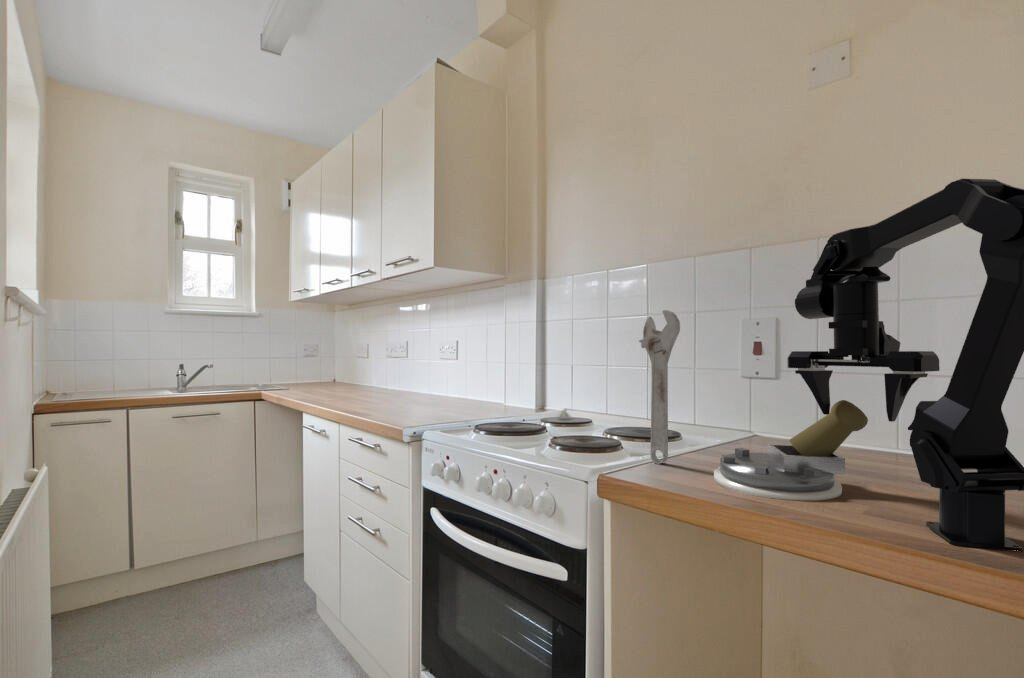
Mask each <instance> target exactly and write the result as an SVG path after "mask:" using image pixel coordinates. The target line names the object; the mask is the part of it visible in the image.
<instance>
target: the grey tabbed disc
mask: <svg viewBox="0 0 1024 678" xmlns="http://www.w3.org/2000/svg"><path fill="white" fill-rule="evenodd" d="M719 467H720V472H721V474H722V475H723V476H725V477H727V478H728V479H731V480H733V481H736V482H739V483H742V484H746V485H750V486H755V487H759V488H765V489H772V490H780V491H792V492H814V491H823V490H827V489H830V488H832V487H833V486H834V480H835V475H845V474H846V457H843V456H841V455H839V454H837V453H836V452H834V453H833V454H832V455H831V456H830V457H820V456H802V455H801V454H800V453H799V452H798V451H797V450H796V449H795V448H794V447H793V446H792V444H775V443H772V444H771V443H770V444H769V443H767V452H750V449H746V448H743V447H735V448H734V453H731V454H729V453H728V454H721V456H720V459H719Z"/></svg>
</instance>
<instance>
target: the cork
mask: <svg viewBox="0 0 1024 678" xmlns="http://www.w3.org/2000/svg"><path fill="white" fill-rule="evenodd" d="M868 422H869V419H868V417H867V415H866V414H865V413H864V412H863V410H862V409H861V408H859V407H858V406H856V405H855V404H854V403H852V402H851V401H848V400H845V399H842V400H839V401H837V402H835V403H834V404H833V405H832V406H831V407H830V413H829V414H827V415H825V416H823V417H822V418H820V419H818V420H817V421H815V422H814V423H812V424H811V425H809V426H808V427H806V428H805V429H802V431H800V432H799V433H798V434H796V435H794V436H793V437H791V438H790V439H789V443H790V445H792V446H793V447H794V448H795V449H796V450H797V451H798V452H799V453H800V454H801V455H802V456H820V457H830V456H831V455H832V454H833V453H836V451H837V450H838V448H840V446H841V445H842V444H843V443H844V442H845V440H847V438H848V437H849V436H850V435H851V434H852V433H853V432H858V431H861V430H863V429H864V428H865V427H866V426H867V425H868Z"/></svg>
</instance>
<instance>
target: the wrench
mask: <svg viewBox="0 0 1024 678" xmlns="http://www.w3.org/2000/svg"><path fill="white" fill-rule="evenodd" d="M662 314H663V316H664V320H665V321H666V324H665V325H664V327H663V329H662V330H658V329H657V328H656V327H657V326H656V324H655V320H654V319H653V317H652V316H648V317H646V319H645V322H644V325H643V329H642V339H640V340H638V342H639V343H640V347H641V348H642V349H645V351H646V352H647V354H648V357H649V361H650V363H651V364H650V365H651V367H650V368H651V386H650V388H651V389H650V390H651V393H650V395H651V396H650V400H651V401H650V402H651V403H650V453H649V455H650V459H651V461H652V462H653V463H655V464H657V465H658V464H659V465H660V464H662V463H665V462H667V461H668V458H669V408H668V407H669V402H668V401H669V390H668V388H669V387H668V386H669V383H668V382H669V381H668V380H669V379H668V376H669V375H668V373H669V372H668V371H669V369H668V368H669V367H668V365H669V362H670V361H669V360H670V357H671V355H672V352H673V351H672V350H673V347H674V345H675V343H676V341H677V338H678V337H679V334H680V331H681V324H680V323H681V322H680V320H679V318H678V316H677V314H675V313H674V312H673V311H671V310H668V309H664V310H662ZM657 451H660V452H661V454H662V460H660V459H659V458H657V455H656V452H657Z"/></svg>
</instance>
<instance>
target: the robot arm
mask: <svg viewBox="0 0 1024 678" xmlns="http://www.w3.org/2000/svg"><path fill="white" fill-rule="evenodd" d="M960 224H963V226H964V227H967V228H968V229H971V230H973V231H975V232H977V233H980V234H981V240H980V245H979V252H978V253H979V256H980V259H981V262H982V265H983V267H984V270H985V273H986V281H985V284H984V288H983V289H982V293H981V295H980V299H979V301H978V304H977V306H976V308H975V312H974V315H973V317H972V320H971V323H970V326H969V328H968V331H967V334H966V337H965V340H964V341H963V342H964V343H963V345H962V346H961V347H962V348H961V351H960V352H959V353H960V354H959V356H958V359H957V362H956V363H955V368H954V370H953V373H952V375H951V377H950V381H949V383H948V386H947V388H946V392H944V395H943V396H941V397H940V398H939V399H938V400H921V401H919V402H918V404H917V406H916V407H915V413H914V417H913V420H912V421H911V424H910V425H909V426H907V430H908V431H911V432H910V436H909V446H910V448H911V449H910V450H911V451H912V454H913V457H914V459H913V460H914V462H915V465H916V468H917V472H918V474H919V475H918V476H919V479H920V481H921V482H922V483H925V484H928V485H930V487H931V488H935V489H938V491H939V492H938V493H939V494H938V498H939V501H938V504H939V505H938V507H939V508H938V512H939V513H938V521H927V520H926V521H925V525H926V527H928V528H929V530H932V532H934V533H935V534H937V535H938V536H939V537H941V538H942V539H943V540H945V541H946V542H948V543H949V544H951V545H954V546H958V547H959V546H961V547H970V548H980V549H988V550H997V549H1001V550H1000V551H1007V550H1016V551H1017V550H1018V551H1022V552H1023V547H1022V546H1021V545H1019V544H1017V543H1016V542H1014V541H1012V540H1011V539H1010V538H1008V537H1006V491H1018V492H1024V465H1023V464H1022V463H1021V462H1020V461H1019V460H1018V459H1017V458H1016V456H1015V455H1014V454H1013V453H1012V452H1011V451H1010V450H1009V448H1008V447H1007V441H1008V437H1009V427H1008V425H1007V422H1006V418H1005V416H1004V413H1003V410H1002V407H1003V406H1002V405H1003V403H1004V401H1005V399H1006V396H1007V393H1008V391H1009V389H1010V386H1011V384H1012V382H1013V379H1014V376H1015V374H1016V372H1017V369H1018V367H1019V365H1020V362H1021V359H1022V357H1023V354H1024V188H1020V187H1015V186H1013V185H1010V184H1007V183H1005V182H1001V181H1000V180H997V179H993V178H992V179H988V178H987V179H986V178H959V179H956V180H954V181H950V182H949V183H948V184H947V185H945V187H944V188H942V189H941V190H939V191H938V192H935V193H934V194H931V195H929V196H927V197H926V198H923V199H921V200H920V201H918V202H916V203H914V204H912V205H910V206H908V207H906V208H904V209H901V211H899V212H896V213H894V214H892V215H891V216H888V217H887V218H885V219H882V220H881V221H879V222H877V223H873V224H870V225H866V226H862V227H861V226H860V227H855V228H851V229H846V230H843V231H839V232H836V233H834V234H832V235H831V236H830V237H829V238H828V240H827V243H826V244H825V245H824V247H823V249H822V252H821V254H820V256H819V257H818V261H817V262H816V264H815V266H814V267H813V269H812V271H813V272H812V274H811V277H810V279H806V280H805V287H803V288H802V289H801V290H799V291H798V293H797V295H796V298H795V299H794V306H795V310H796V311H797V313H798V314H799V315H800V316H801V317H803V318H804V319H808V320H817V319H826V318H827V319H829V318H833V321H828V329H832V330H833V348H828V351H827V350H825V351H823V350H822V351H821V350H820V351H815V350H813V351H811V350H810V351H809V350H808V351H805V350H804V351H799V350H797V351H796V350H795V351H791V352H790V354H789V355H788V356H787V361H786V362H787V368H788V369H795V372H794V373H795V374H796V375H800V376H801V378H802V379H803V381H804V382H805V384H806V385H807V386H808V388H809V390H810V392H811V393H812V395H813V397H814V398H815V401H816V403H817V404H818V406H819V408H820V410H821V413H822V415H825V416H826V415H828V414H829V413H830V412H831V396H830V395H831V394H830V393H831V392H830V379H831V376H832V374H833V371H834V370H831V369H830V370H828V369H827V370H826V368H829V366H830V367H833V366H834V367H862V368H863V367H864V368H865V367H869V368H870V367H871V368H889V370H891V371H892V373H891V372H890V373H884V375H883V376H884V388H885V389H884V390H885V408H886V414H887V418H888V419H887V421H888V422H889V423H890V422H896V420H897V418H898V415H899V414H900V410H901V408H902V406H903V404H904V401H905V399H906V397H907V395H908V393H909V391H910V389H911V388H912V386H913V385H914V383H916V382H917V381H918V380H919V379H920V378H927V377H928V375H929V372H940V358H939V356H938V354H936V352H935V351H932V350H929V351H925V350H924V351H919V350H918V351H917V350H913V351H912V350H909V351H908V350H907V351H906V350H905V351H904V350H903V351H901V350H900V348H901V341H899V340H898V339H896V337H893V336H892V335H890V334H888V333H886V331H885V324H884V321H882V320H881V321H880V320H879V319H880V316H879V315H880V314H879V310H880V308H879V284H880V283H881V284H882V283H885V282H889V281H891V276H889V275H888V274H887V273H885V272H883V271H882V269H881V270H880V268H881V267H883V266H884V265H886V264H888V263H889V262H890V261H892V260H893V259H894V257H895V255H896V253H897V252H898V251H900V250H902V249H904V248H906V247H908V246H910V245H913V244H915V243H917V242H920V241H922V240H924V239H927V238H930V237H932V236H934V235H936V234H939V233H941V232H943V231H945V230H948V229H951V228H952V227H955V226H958V225H960ZM849 356H851V359H844V358H849ZM796 369H797V370H796ZM926 372H928V373H926ZM966 470H967V471H968V472H967V471H966ZM969 470H973V472H972V471H970V472H969ZM975 470H976V471H975ZM965 471H966V472H965ZM1003 549H1004V550H1003ZM1016 551H1015V552H1016Z"/></svg>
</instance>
